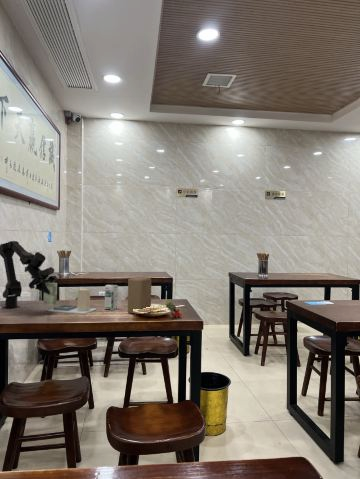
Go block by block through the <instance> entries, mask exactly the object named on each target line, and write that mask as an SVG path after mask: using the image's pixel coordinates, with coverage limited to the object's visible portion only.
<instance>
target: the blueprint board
mask: <svg viewBox="0 0 360 479" xmlns="http://www.w3.org/2000/svg"><path fill="white" fill-rule="evenodd" d="M90 306H91V289H90V288H80V289H77V305H73V304H71V305H70V304H60V305H56V306H54V307H52V308H51V309H47V312H51V313H52V312H53V313H64V314H65V313H66V314H76V315H77V314H79V315H80V314H81V315H88V314H89V312H90V313H92V311H93V312H95V311H98V308H94V307H93V308H92V307H90ZM94 310H95V311H94Z"/></svg>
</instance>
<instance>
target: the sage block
mask: <svg viewBox="0 0 360 479" xmlns="http://www.w3.org/2000/svg"><path fill="white" fill-rule="evenodd" d="M45 285H46V287H47V288H48V290H49V291H50V294H47V293H45V292H43V306H47V307H48V306H50V307H52V306H55V305H56V306H57V303H58V301H57V300H58V282H54V283H45Z"/></svg>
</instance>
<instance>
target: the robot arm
mask: <svg viewBox="0 0 360 479" xmlns="http://www.w3.org/2000/svg"><path fill="white" fill-rule="evenodd" d="M14 254H16V255H17V256H18V257H19V261H20V263H21V264H22V266H23V265H24V272H25V273H26V272H28V273H29V275H31V277H30V278H31V281H30V282H29V283H28V287H29V289H31V290H32V289H34V290H38V291H40V292H43V293H44V292H45V293H47V294H50V291H49V290H48V288H47V287H46V285H45V283H56V281H57V280H58V277H57V276H56V275H52V274H55V269H54V267H51V266H50V267H47V268H45V269H40V267H42V265H43V264H44V262H45V261H46V256H45V255H44V254H42V253H41V252H40V251H35V254H34V253H32V252H29V251H27V250H26V249H25V248H24V247H23V246H22V245H21V244H20V243H19V241H17V240H11V241H7V242H5V243H0V257H1V258H2V259H3V262H4V268H5V274H6V280H7V281H6V284H5V289H4V291H3V292H2V298H3V299H5V302H4V303H5V304H4V306H3V309H14V308H19V307H20V305H18V298H20V297H21V295H22V291H23V290H22V289H23V288H22V283H21V281H20V280H17V275H16V269H15V264H14V258H13V257H14Z"/></svg>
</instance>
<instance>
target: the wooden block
mask: <svg viewBox="0 0 360 479" xmlns="http://www.w3.org/2000/svg"><path fill="white" fill-rule="evenodd" d="M127 280H128V281H127V313H128V314H130V313H134V312H133V309H143V308H146V307H150V306H151V307H152V278H150V277H139V276H138V277H137V276H136V277H130V278H128V279H127Z"/></svg>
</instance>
